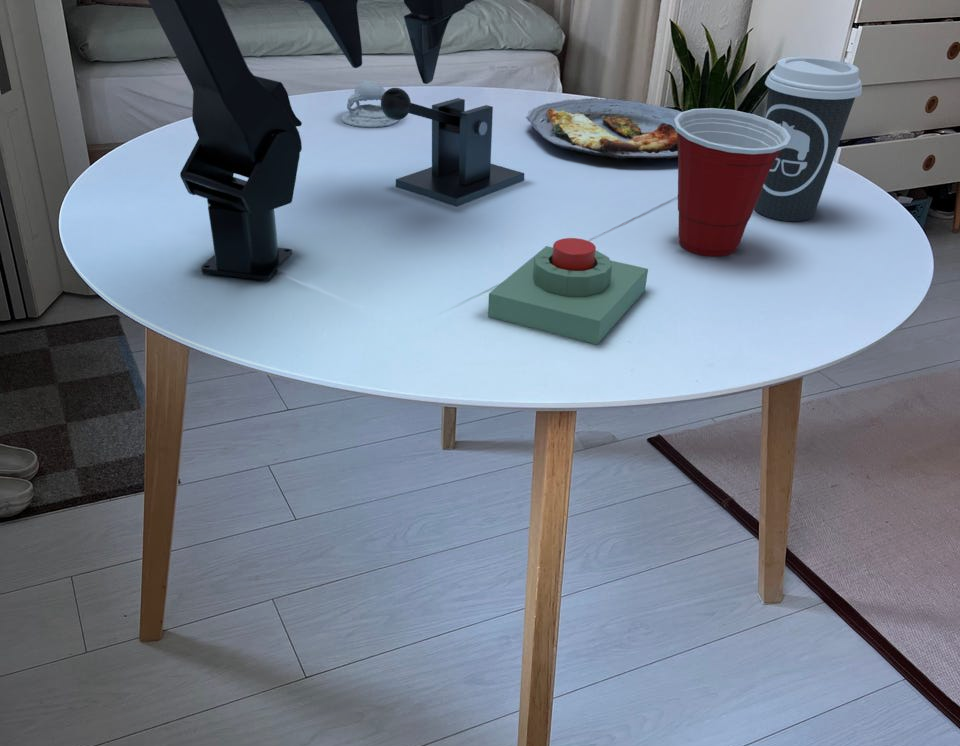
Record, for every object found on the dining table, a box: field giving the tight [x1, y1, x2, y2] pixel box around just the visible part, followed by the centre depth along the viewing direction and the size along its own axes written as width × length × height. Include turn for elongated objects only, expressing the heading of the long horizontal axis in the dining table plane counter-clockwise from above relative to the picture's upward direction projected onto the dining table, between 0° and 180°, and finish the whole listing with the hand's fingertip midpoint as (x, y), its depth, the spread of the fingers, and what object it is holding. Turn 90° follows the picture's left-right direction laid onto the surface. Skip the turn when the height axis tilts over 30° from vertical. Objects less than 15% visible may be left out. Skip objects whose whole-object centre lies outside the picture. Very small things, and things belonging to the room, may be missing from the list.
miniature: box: [341, 80, 400, 128], centre depth 124 cm, size 8×8×5 cm
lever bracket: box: [395, 97, 525, 207], centre depth 101 cm, size 12×9×9 cm
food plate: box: [525, 97, 682, 160], centre depth 119 cm, size 25×23×4 cm
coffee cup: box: [754, 56, 863, 222], centre depth 97 cm, size 10×10×15 cm
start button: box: [552, 237, 597, 271], centre depth 78 cm, size 4×4×2 cm
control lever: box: [380, 87, 464, 134], centre depth 96 cm, size 14×3×3 cm, turn 141°
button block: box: [487, 245, 649, 346], centre depth 79 cm, size 12×10×4 cm
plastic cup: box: [674, 107, 791, 258], centre depth 88 cm, size 11×11×12 cm
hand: (392, 74), depth 91 cm, fingers open, 9 cm apart
